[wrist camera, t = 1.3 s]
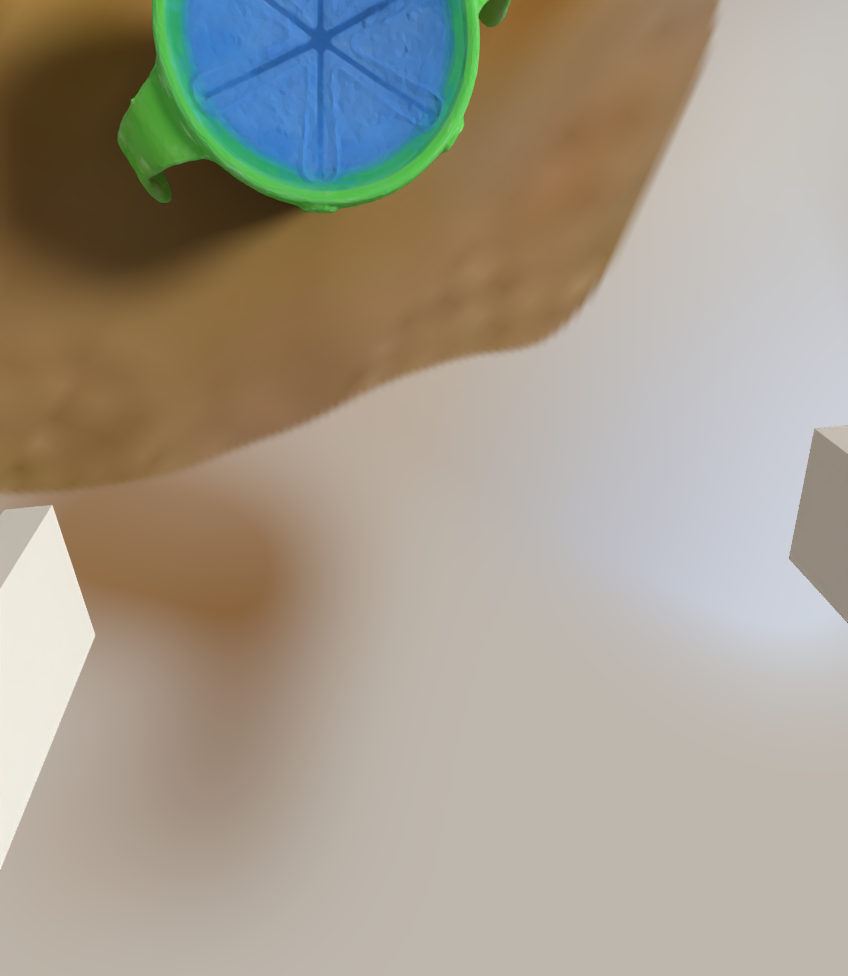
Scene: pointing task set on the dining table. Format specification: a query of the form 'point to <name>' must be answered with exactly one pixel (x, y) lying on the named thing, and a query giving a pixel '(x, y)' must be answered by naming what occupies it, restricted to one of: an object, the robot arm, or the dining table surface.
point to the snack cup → (306, 93)
